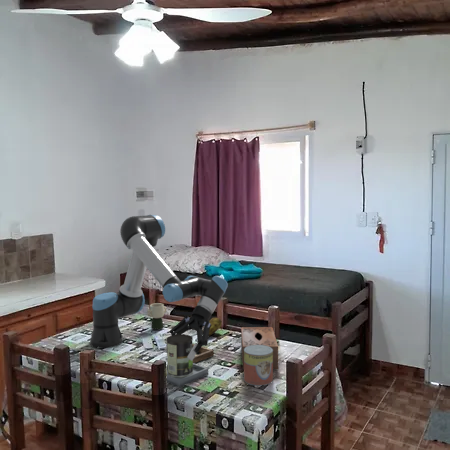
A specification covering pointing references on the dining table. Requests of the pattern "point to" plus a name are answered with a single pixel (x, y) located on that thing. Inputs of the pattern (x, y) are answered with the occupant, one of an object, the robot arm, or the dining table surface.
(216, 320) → the potato
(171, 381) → the tray
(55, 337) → the dining table surface
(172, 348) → the coffee can
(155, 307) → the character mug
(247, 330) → the tissue box cover
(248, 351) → the canned food
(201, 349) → the holder frame
